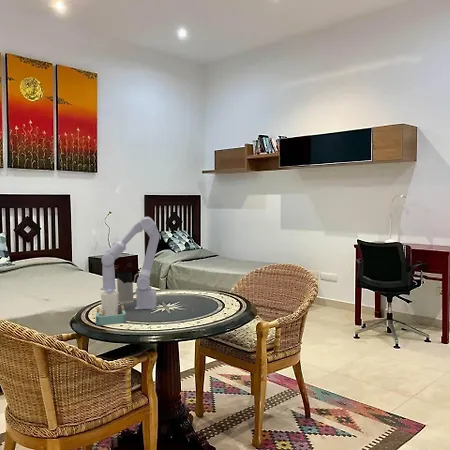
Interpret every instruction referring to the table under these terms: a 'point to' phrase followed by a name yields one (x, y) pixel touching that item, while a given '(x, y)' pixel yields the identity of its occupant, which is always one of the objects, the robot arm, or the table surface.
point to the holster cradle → (121, 308)
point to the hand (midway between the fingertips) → (110, 306)
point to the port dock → (111, 319)
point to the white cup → (109, 303)
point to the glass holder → (125, 287)
